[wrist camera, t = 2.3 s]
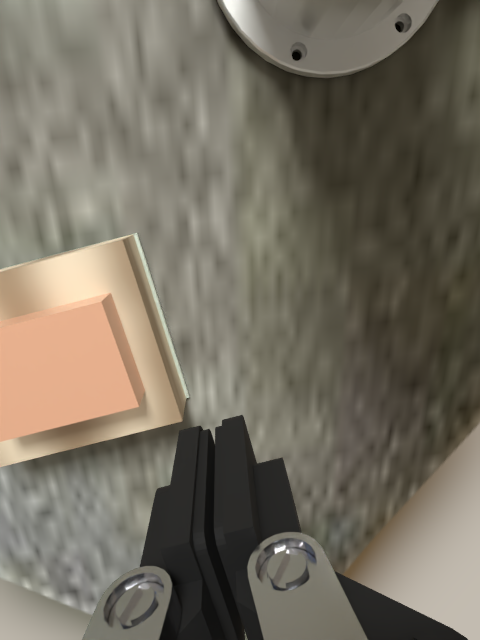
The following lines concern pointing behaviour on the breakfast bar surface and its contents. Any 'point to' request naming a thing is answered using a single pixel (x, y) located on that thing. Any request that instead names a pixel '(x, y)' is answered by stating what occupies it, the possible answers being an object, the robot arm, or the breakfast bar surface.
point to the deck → (139, 326)
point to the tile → (65, 367)
